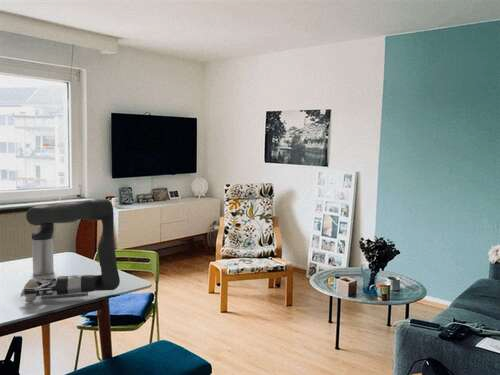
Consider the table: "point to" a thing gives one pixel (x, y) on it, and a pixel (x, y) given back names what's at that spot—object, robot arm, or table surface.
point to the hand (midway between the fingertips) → (26, 288)
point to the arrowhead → (30, 297)
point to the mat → (62, 295)
